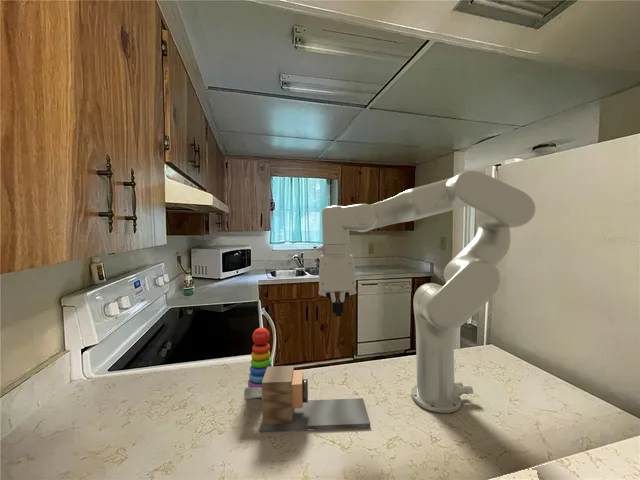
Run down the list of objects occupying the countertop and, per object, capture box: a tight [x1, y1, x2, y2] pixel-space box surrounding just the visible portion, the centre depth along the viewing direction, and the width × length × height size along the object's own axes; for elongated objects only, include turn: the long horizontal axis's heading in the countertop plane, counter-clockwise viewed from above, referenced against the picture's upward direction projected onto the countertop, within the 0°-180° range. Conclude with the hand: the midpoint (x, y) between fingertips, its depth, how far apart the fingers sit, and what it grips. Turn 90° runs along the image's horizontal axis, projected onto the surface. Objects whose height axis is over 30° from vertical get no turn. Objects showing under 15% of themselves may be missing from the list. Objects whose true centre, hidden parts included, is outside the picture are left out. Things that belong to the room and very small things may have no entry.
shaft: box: [243, 378, 309, 403], centre depth 69 cm, size 16×5×5 cm, turn 91°
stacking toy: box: [247, 327, 273, 388], centre depth 81 cm, size 8×8×19 cm
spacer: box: [292, 369, 304, 408], centre depth 69 cm, size 2×6×6 cm, turn 1°
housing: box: [259, 365, 371, 433], centre depth 70 cm, size 26×10×11 cm, turn 91°
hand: (337, 315), depth 77 cm, fingers closed
